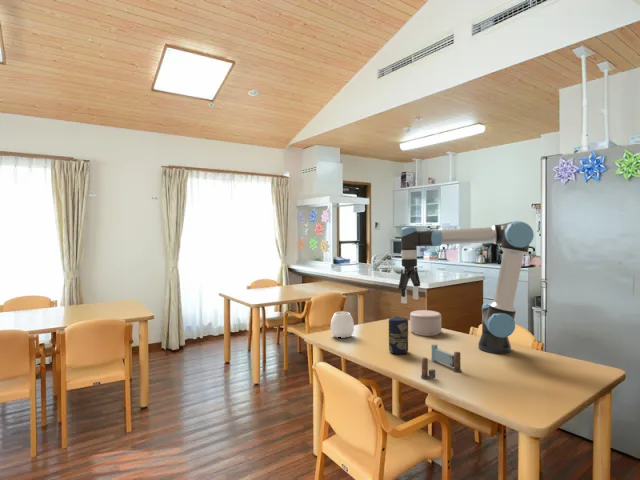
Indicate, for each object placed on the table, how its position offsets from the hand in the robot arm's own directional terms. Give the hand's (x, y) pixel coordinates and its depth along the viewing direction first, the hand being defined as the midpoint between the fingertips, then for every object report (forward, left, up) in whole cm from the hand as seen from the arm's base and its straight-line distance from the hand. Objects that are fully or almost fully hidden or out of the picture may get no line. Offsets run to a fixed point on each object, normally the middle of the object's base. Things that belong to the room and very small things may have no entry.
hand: (410, 301), depth 202 cm
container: (-4, -41, -26) cm, 49 cm away
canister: (+5, +3, -26) cm, 26 cm away
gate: (-17, +16, -25) cm, 34 cm away
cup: (+40, -17, -25) cm, 51 cm away
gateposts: (-17, +28, -25) cm, 41 cm away
